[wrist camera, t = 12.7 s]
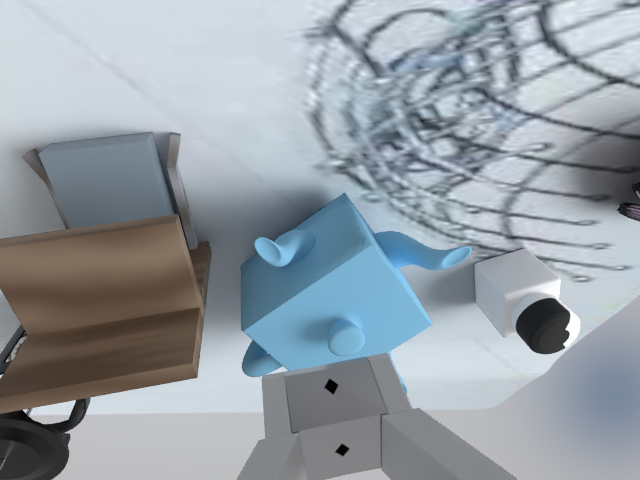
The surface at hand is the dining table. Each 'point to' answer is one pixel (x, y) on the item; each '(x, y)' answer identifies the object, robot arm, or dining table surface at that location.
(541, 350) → the medicine bottle
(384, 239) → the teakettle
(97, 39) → the dining table surface
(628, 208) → the decorative flower
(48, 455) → the french press
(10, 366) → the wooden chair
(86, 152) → the shell
